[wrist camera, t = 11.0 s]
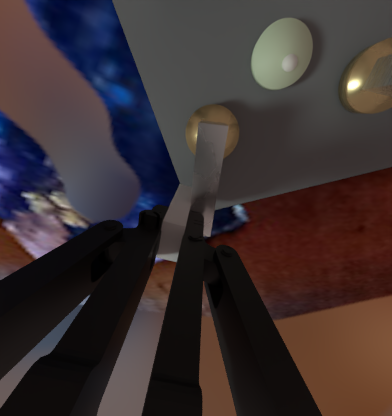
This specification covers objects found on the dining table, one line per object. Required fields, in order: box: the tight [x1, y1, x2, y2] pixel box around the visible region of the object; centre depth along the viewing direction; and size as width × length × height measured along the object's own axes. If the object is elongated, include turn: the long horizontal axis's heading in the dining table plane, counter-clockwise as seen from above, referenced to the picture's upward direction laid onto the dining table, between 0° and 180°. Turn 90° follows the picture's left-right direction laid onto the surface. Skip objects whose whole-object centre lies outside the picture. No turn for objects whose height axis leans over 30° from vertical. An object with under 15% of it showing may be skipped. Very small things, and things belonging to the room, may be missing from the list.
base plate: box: [112, 0, 392, 210], centre depth 14 cm, size 24×21×3 cm
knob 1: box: [186, 104, 239, 237], centre depth 15 cm, size 9×4×6 cm, turn 174°
